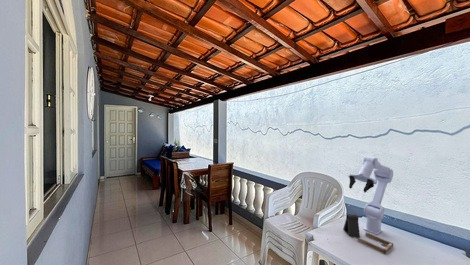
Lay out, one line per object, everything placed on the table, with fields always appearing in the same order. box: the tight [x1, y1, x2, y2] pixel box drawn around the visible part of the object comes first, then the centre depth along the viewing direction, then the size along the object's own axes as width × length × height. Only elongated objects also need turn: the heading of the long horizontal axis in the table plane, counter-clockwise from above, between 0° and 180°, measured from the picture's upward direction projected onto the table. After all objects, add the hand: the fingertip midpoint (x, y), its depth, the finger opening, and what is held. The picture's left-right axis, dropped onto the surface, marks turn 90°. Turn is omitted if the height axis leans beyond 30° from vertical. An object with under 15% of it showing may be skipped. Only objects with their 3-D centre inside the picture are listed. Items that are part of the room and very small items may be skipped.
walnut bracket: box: [357, 231, 394, 255], centre depth 113 cm, size 12×14×2 cm
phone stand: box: [342, 214, 361, 239], centre depth 123 cm, size 9×6×12 cm, turn 175°
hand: (357, 189), depth 112 cm, fingers open, 7 cm apart
